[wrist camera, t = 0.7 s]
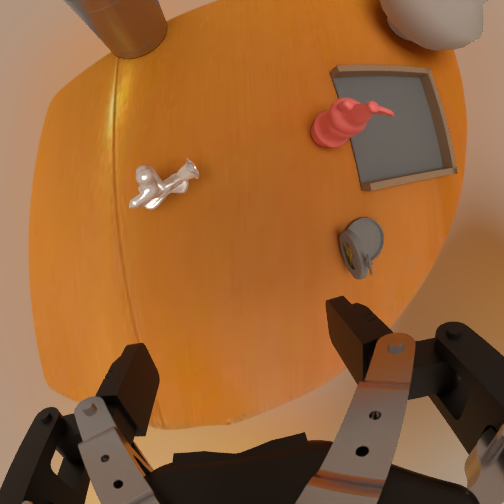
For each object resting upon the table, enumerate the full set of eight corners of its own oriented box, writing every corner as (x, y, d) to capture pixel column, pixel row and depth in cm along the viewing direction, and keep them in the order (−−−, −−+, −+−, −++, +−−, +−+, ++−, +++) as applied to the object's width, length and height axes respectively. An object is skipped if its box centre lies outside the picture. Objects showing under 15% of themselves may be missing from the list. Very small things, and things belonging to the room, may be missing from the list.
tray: (329, 72, 33) (336, 65, 30) (420, 73, 33) (429, 68, 30) (361, 190, 37) (371, 190, 34) (446, 173, 37) (457, 173, 35)
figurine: (133, 192, 35) (94, 196, 23) (186, 149, 34) (167, 131, 23) (153, 220, 36) (121, 235, 24) (208, 177, 35) (197, 172, 24)
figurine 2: (341, 117, 35) (398, 86, 20) (342, 152, 36) (402, 136, 21) (306, 113, 34) (350, 74, 20) (307, 148, 35) (353, 127, 21)
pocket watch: (388, 236, 39) (427, 250, 29) (355, 279, 40) (387, 305, 30) (353, 200, 37) (389, 206, 28) (317, 247, 39) (344, 266, 29)
